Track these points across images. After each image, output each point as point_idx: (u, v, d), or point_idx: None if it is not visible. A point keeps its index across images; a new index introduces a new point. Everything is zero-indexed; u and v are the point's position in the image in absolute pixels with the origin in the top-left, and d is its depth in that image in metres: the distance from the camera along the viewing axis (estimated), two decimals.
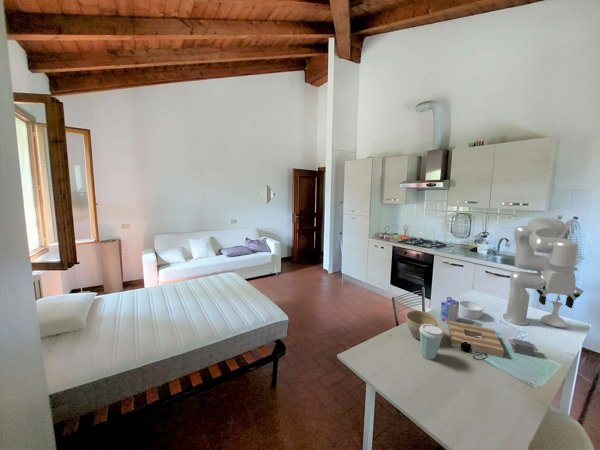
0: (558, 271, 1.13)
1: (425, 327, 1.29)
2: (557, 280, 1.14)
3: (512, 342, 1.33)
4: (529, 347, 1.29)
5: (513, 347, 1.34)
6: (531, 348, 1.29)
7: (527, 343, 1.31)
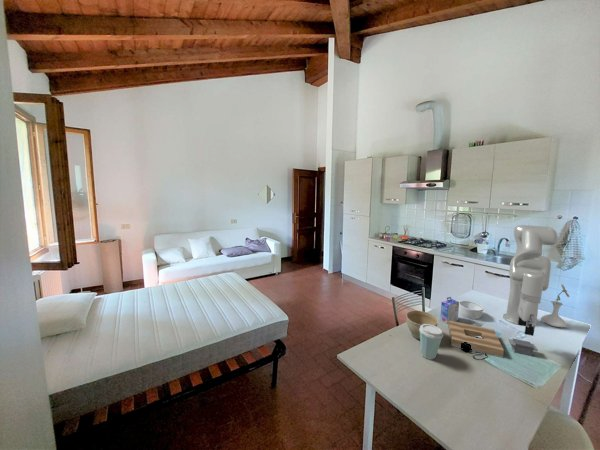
0: (539, 301, 1.24)
1: (425, 327, 1.29)
2: None
3: (512, 342, 1.33)
4: (529, 347, 1.29)
5: (513, 347, 1.34)
6: (531, 348, 1.29)
7: (527, 343, 1.31)
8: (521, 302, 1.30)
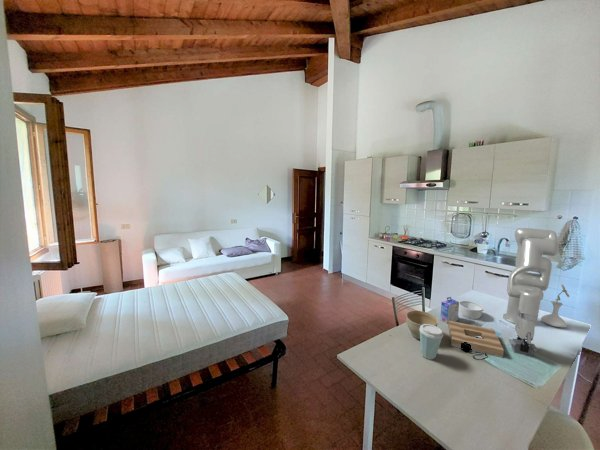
0: (536, 319, 1.26)
1: (425, 327, 1.29)
2: None
3: (512, 342, 1.33)
4: (529, 347, 1.29)
5: (513, 347, 1.34)
6: (531, 348, 1.29)
7: None
8: (518, 319, 1.32)
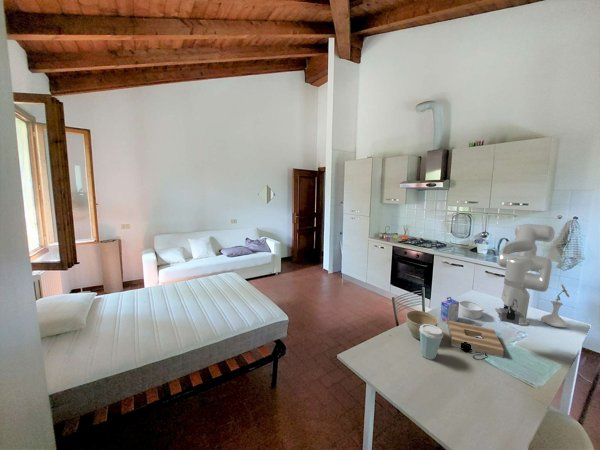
0: (522, 286, 1.26)
1: (425, 327, 1.29)
2: None
3: (499, 311, 1.33)
4: (515, 315, 1.29)
5: (500, 316, 1.34)
6: (517, 315, 1.29)
7: None
8: (505, 288, 1.32)
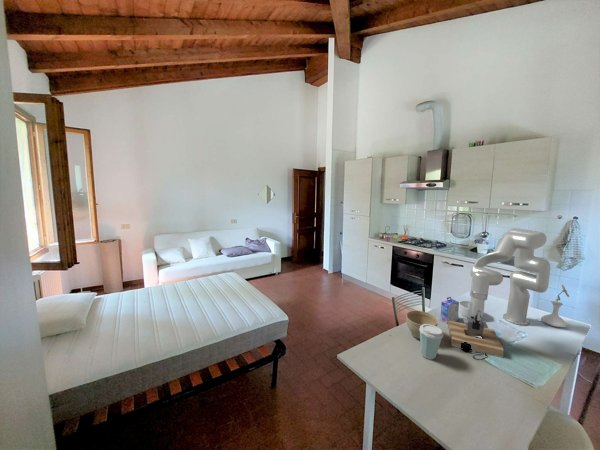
0: (486, 298, 1.34)
1: (425, 327, 1.29)
2: None
3: (465, 320, 1.41)
4: (480, 325, 1.36)
5: (466, 325, 1.41)
6: (482, 325, 1.36)
7: None
8: (471, 299, 1.40)
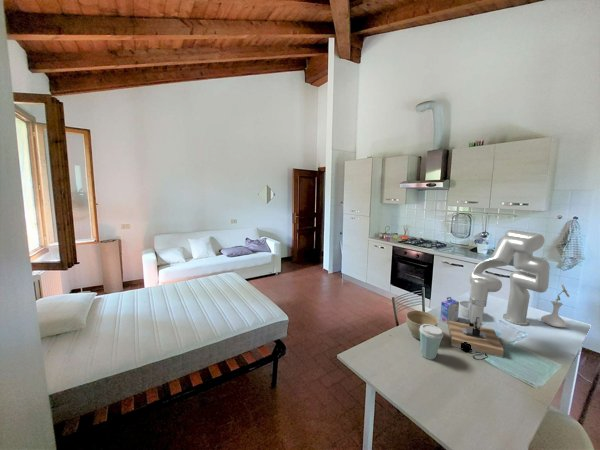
0: (485, 305, 1.34)
1: (425, 327, 1.29)
2: None
3: (464, 331, 1.42)
4: None
5: None
6: (480, 336, 1.37)
7: None
8: (470, 305, 1.40)
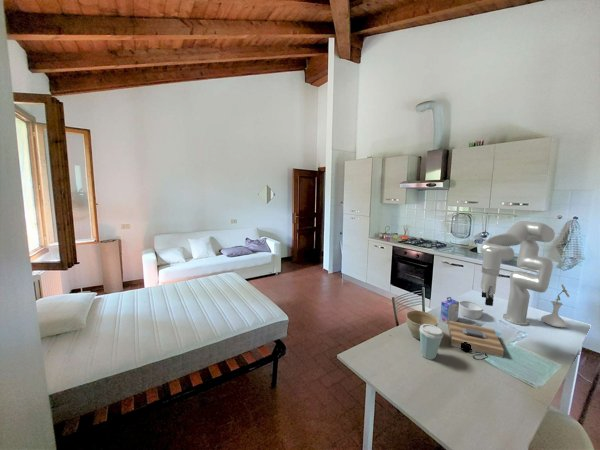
0: (498, 274, 1.33)
1: (425, 327, 1.29)
2: None
3: (464, 331, 1.42)
4: (479, 335, 1.38)
5: None
6: (480, 336, 1.37)
7: (478, 332, 1.40)
8: (482, 276, 1.39)
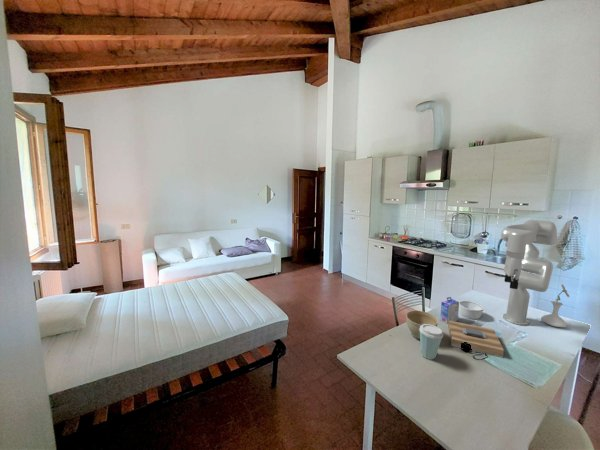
0: (523, 257, 1.34)
1: (425, 327, 1.29)
2: None
3: (464, 331, 1.42)
4: (479, 335, 1.38)
5: None
6: (480, 336, 1.37)
7: (478, 332, 1.40)
8: (507, 260, 1.40)
